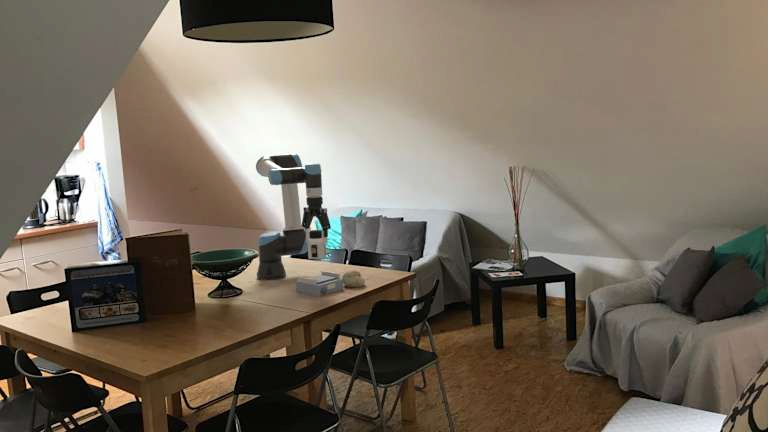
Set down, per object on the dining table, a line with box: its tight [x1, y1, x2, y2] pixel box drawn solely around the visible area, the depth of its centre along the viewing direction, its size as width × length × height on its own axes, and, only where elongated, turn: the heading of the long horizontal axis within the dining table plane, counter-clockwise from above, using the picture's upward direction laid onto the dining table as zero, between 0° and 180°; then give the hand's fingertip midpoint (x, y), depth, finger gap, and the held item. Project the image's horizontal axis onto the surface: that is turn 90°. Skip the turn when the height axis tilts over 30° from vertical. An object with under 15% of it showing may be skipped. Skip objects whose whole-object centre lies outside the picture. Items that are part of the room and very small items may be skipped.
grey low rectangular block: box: [294, 270, 344, 297], centre depth 321 cm, size 17×16×7 cm
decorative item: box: [341, 270, 366, 289], centre depth 327 cm, size 12×9×10 cm
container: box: [307, 229, 327, 260], centre depth 318 cm, size 8×8×13 cm
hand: (316, 243), depth 319 cm, fingers closed on container, 10 cm apart
